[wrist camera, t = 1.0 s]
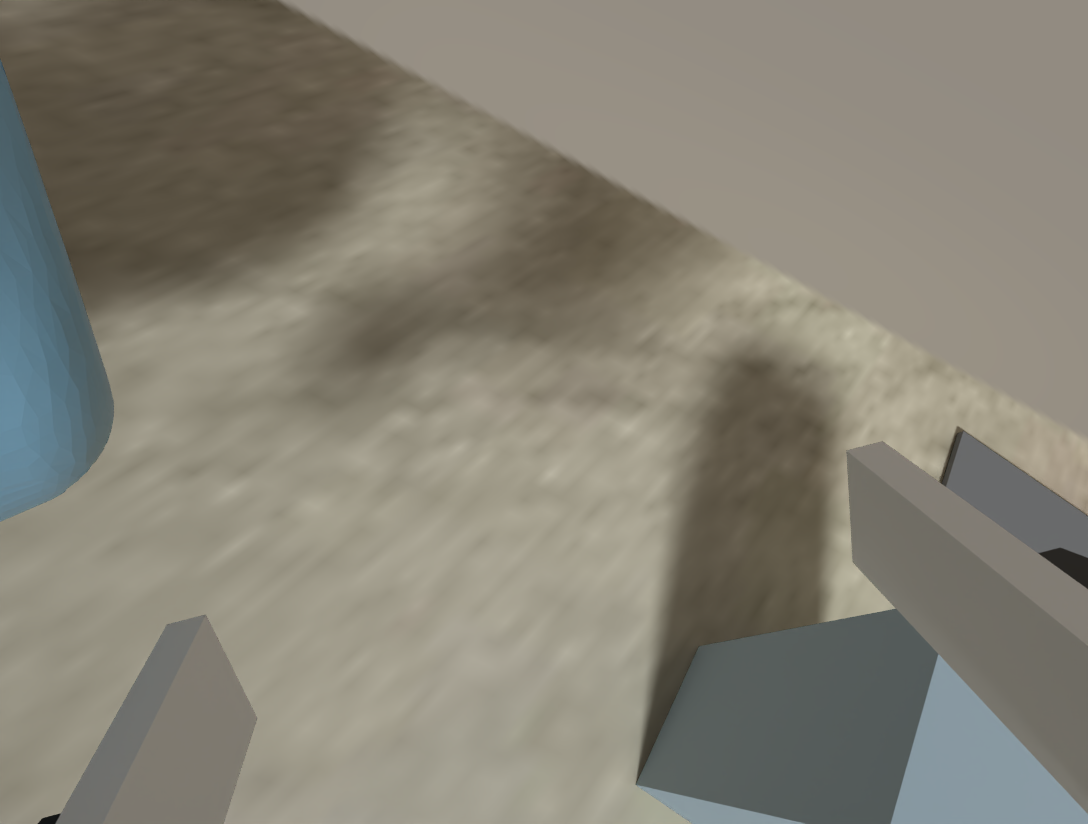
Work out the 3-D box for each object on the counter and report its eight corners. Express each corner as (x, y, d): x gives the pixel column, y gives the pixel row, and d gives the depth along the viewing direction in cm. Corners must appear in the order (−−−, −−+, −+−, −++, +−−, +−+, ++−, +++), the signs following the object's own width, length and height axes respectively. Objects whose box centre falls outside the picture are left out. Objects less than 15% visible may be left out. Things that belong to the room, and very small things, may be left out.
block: (635, 784, 27) (885, 842, 15) (699, 646, 30) (954, 597, 18) (764, 872, 28) (1121, 1002, 15) (816, 726, 30) (1153, 734, 18)
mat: (825, 849, 28) (831, 851, 28) (957, 433, 38) (963, 431, 38) (1241, 1134, 28) (1252, 1139, 28) (1264, 644, 38) (1273, 643, 38)
